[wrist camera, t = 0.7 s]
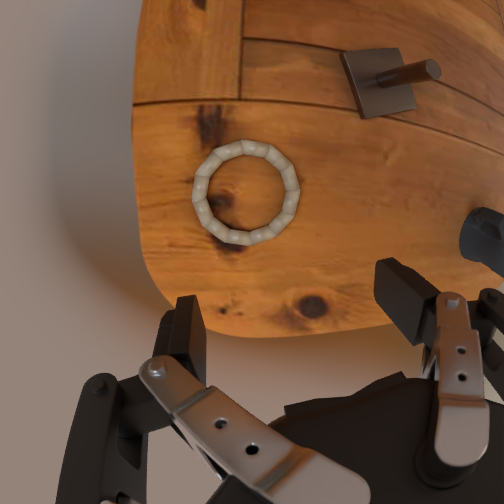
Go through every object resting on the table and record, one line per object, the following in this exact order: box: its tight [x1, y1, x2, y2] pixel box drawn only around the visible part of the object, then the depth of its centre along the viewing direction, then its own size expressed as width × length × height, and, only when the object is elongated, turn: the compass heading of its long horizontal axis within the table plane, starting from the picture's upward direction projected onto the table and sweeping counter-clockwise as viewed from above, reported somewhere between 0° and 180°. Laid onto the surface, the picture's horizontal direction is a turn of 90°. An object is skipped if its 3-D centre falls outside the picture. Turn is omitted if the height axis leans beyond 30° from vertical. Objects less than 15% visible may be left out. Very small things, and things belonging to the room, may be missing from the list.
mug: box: [460, 207, 504, 278], centre depth 30 cm, size 12×9×11 cm
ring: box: [192, 139, 300, 246], centre depth 29 cm, size 11×11×2 cm
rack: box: [339, 48, 441, 119], centre depth 21 cm, size 8×8×10 cm
